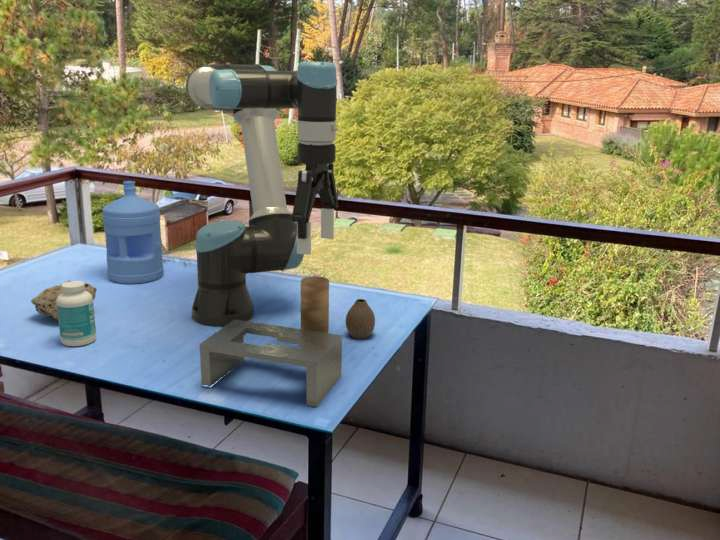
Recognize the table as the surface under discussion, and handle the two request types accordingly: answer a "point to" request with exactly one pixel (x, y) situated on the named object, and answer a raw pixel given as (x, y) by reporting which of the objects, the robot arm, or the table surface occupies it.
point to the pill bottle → (76, 314)
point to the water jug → (133, 238)
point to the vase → (360, 319)
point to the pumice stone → (54, 299)
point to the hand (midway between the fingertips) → (316, 245)
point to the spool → (315, 304)
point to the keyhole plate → (275, 354)
